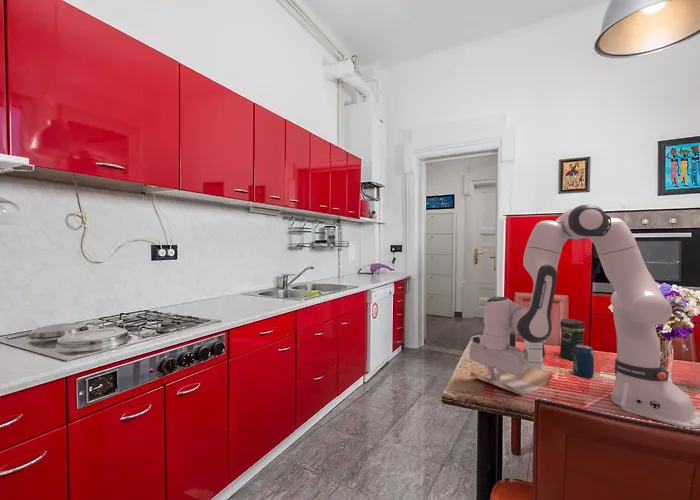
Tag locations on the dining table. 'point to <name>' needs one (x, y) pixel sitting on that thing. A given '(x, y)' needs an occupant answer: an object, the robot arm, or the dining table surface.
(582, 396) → the dining table surface
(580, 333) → the coffee jar
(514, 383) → the grey plank
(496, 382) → the birch plank
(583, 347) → the soda can
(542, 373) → the oak plank
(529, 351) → the syrup box
